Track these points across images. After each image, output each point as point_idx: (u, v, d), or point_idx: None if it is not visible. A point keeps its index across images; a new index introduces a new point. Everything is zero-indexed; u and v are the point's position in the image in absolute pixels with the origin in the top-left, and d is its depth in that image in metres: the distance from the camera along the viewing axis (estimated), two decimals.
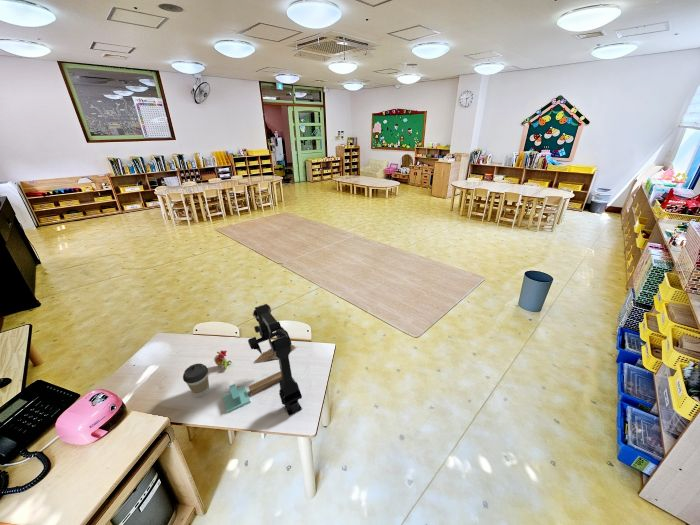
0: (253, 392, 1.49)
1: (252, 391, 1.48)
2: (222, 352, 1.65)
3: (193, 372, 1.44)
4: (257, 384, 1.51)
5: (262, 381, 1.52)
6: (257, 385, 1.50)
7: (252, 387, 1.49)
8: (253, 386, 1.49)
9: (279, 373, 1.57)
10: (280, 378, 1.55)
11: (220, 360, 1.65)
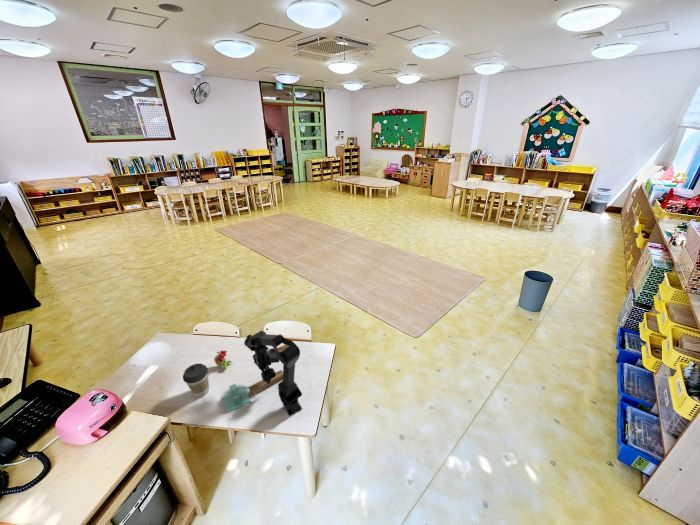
0: (254, 393, 1.48)
1: (253, 392, 1.48)
2: (222, 352, 1.65)
3: (193, 372, 1.44)
4: (258, 384, 1.50)
5: (262, 381, 1.52)
6: (257, 385, 1.50)
7: (253, 387, 1.49)
8: (254, 387, 1.49)
9: (278, 372, 1.57)
10: (280, 377, 1.56)
11: (220, 360, 1.65)
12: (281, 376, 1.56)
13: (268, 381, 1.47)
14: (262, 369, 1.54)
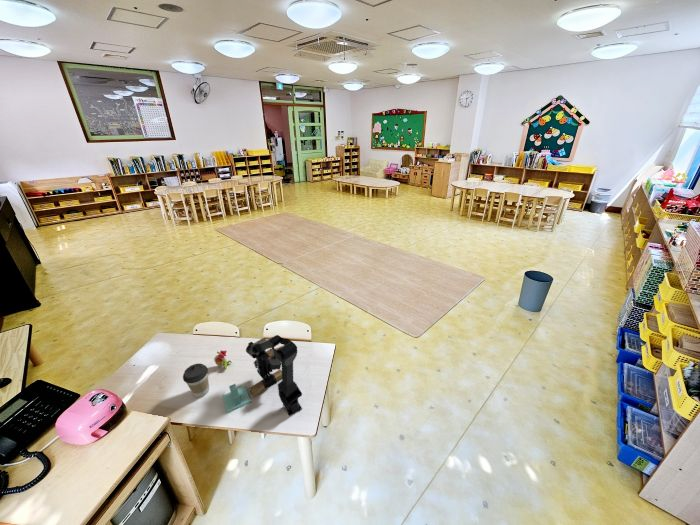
0: (255, 393, 1.48)
1: (253, 392, 1.47)
2: (222, 352, 1.65)
3: (193, 372, 1.44)
4: (258, 385, 1.50)
5: None
6: (257, 385, 1.50)
7: (253, 388, 1.48)
8: (254, 387, 1.49)
9: (278, 372, 1.58)
10: (280, 376, 1.56)
11: (220, 360, 1.65)
12: (281, 375, 1.57)
13: None
14: None
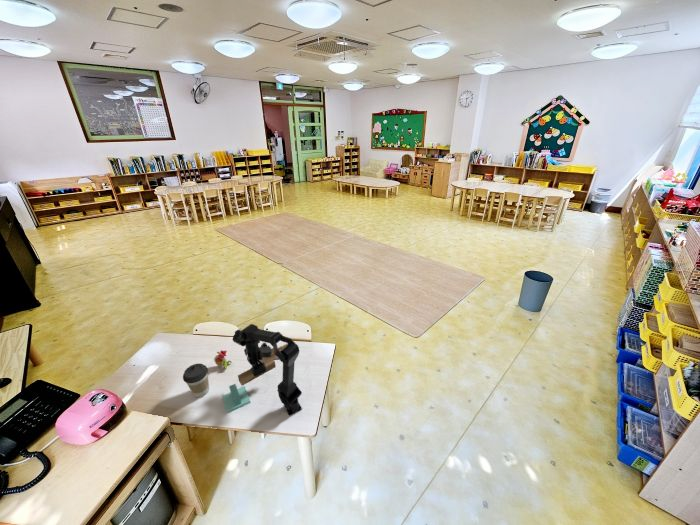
0: (243, 382, 1.42)
1: (242, 380, 1.42)
2: (222, 352, 1.65)
3: (193, 372, 1.44)
4: (247, 373, 1.44)
5: None
6: (247, 373, 1.44)
7: (242, 376, 1.43)
8: (243, 375, 1.43)
9: (269, 360, 1.51)
10: (270, 365, 1.50)
11: (220, 360, 1.65)
12: (272, 364, 1.50)
13: None
14: None
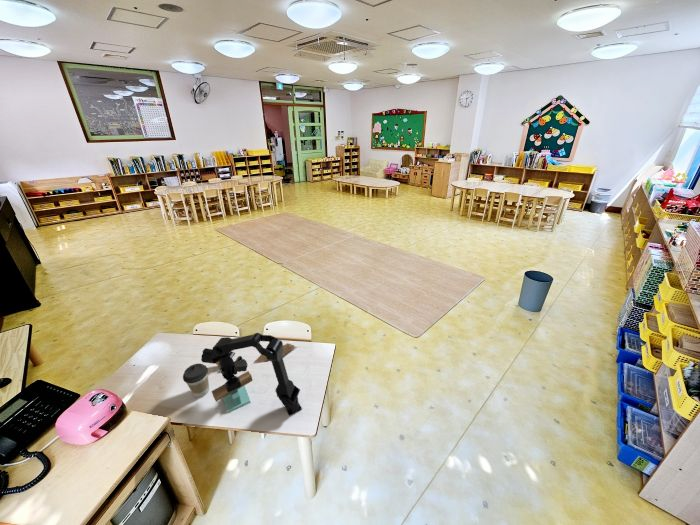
0: (217, 397, 1.37)
1: (216, 396, 1.36)
2: None
3: (193, 372, 1.44)
4: (222, 388, 1.39)
5: None
6: (221, 388, 1.39)
7: (216, 391, 1.38)
8: (217, 391, 1.38)
9: (245, 374, 1.46)
10: (247, 379, 1.45)
11: None
12: (248, 378, 1.45)
13: None
14: None
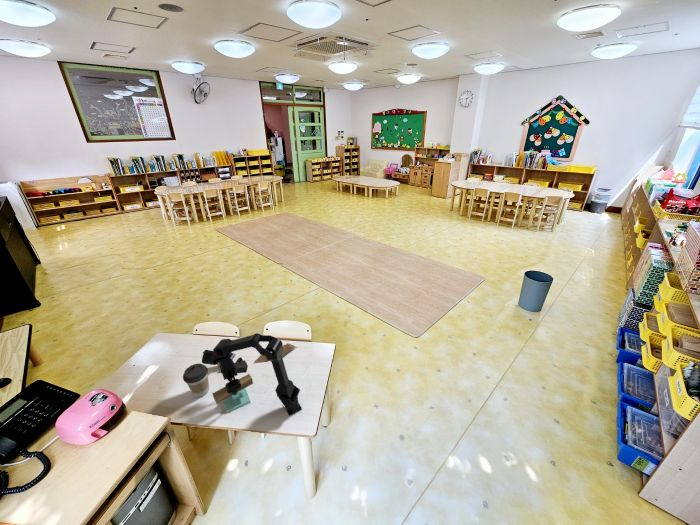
0: (218, 400, 1.38)
1: (217, 398, 1.37)
2: None
3: (193, 372, 1.44)
4: (222, 390, 1.40)
5: None
6: (222, 391, 1.40)
7: (217, 394, 1.38)
8: (218, 393, 1.38)
9: (246, 377, 1.47)
10: (247, 382, 1.46)
11: None
12: (249, 380, 1.46)
13: (234, 392, 1.38)
14: (229, 379, 1.46)
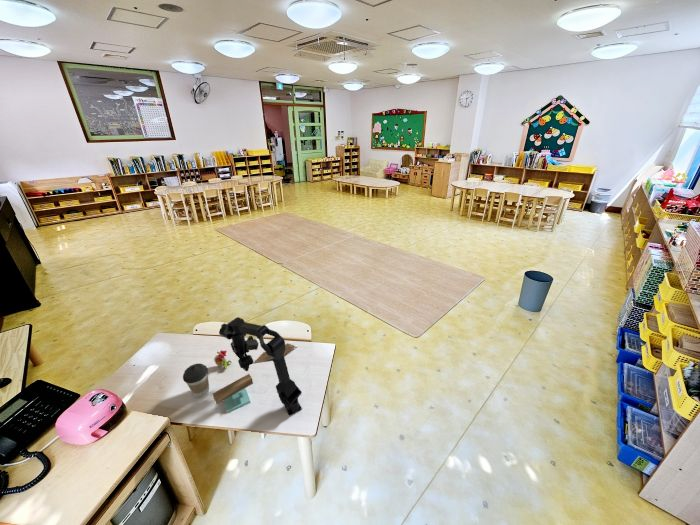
0: (218, 400, 1.38)
1: (217, 398, 1.37)
2: (222, 352, 1.65)
3: (193, 372, 1.44)
4: (222, 390, 1.40)
5: (227, 386, 1.42)
6: (222, 391, 1.40)
7: (217, 394, 1.38)
8: (218, 393, 1.38)
9: (246, 377, 1.47)
10: (247, 382, 1.46)
11: (220, 360, 1.65)
12: (249, 380, 1.46)
13: (246, 368, 1.45)
14: (240, 357, 1.53)
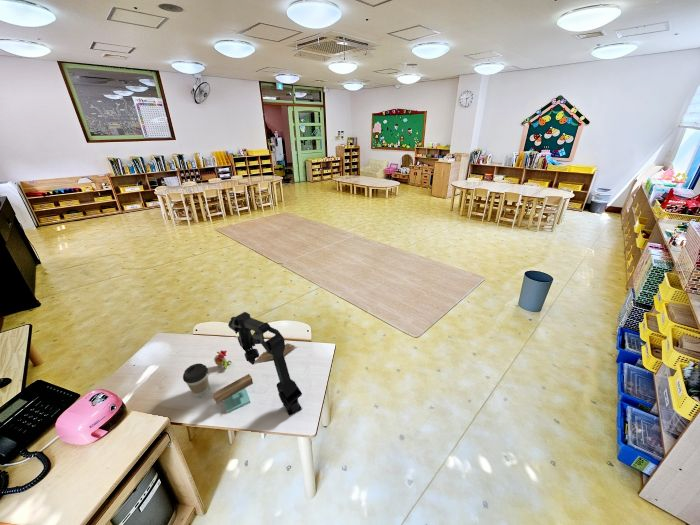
0: (218, 400, 1.38)
1: (217, 398, 1.37)
2: (222, 352, 1.65)
3: (193, 372, 1.44)
4: (222, 390, 1.40)
5: (227, 386, 1.42)
6: (222, 391, 1.40)
7: (217, 394, 1.38)
8: (218, 393, 1.38)
9: (246, 377, 1.47)
10: (247, 382, 1.46)
11: (220, 360, 1.65)
12: (249, 380, 1.46)
13: (252, 362, 1.50)
14: (247, 351, 1.57)
